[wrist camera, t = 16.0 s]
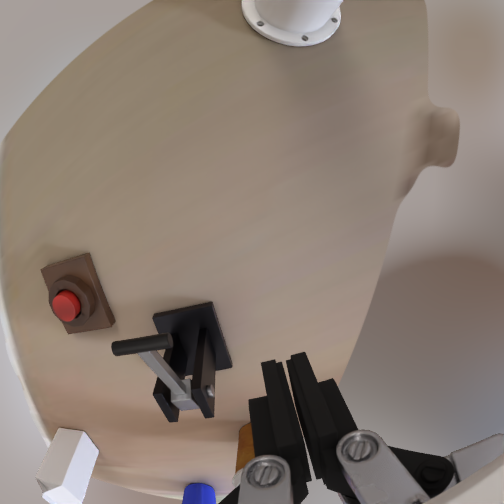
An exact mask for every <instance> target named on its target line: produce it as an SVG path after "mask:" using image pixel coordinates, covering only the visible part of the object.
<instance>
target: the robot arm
mask: <svg viewBox="0 0 504 504" xmlns="http://www.w3.org/2000/svg"><path fill="white" fill-rule="evenodd" d="M342 2H343V0H242V2H241V5H242V12H243V15H244V17H245V19H246V20H247V22H248V23H249V24H250V26H251V27H252V28H253V29H254V30H256V31H257V32H258V33H259V34H261V35H263V36H264V37H266V38H268V39H270V40H273V41H275V42H278V43H281V44H285V45H291V46H310V45H315V44H318V43H321V42H323V41H325V40H326V39H328V38H329V37H330V36H331V35H332V34H333V33H334V32H335V31H336V29H337V28H338V26H339V24H340V19H341V13H340V8H339V5H340V4H341V3H342ZM261 26H262V27H261ZM302 39H303V40H305V41H303V40H302ZM286 363H287V368H288V373H289V377H290V382H291V387H292V392H293V397H294V401H295V406H296V410H297V414H298V417H297V414H296V410H295V407H294V403H293V400H292V396H291V393H290V389H289V386H288V382H287V379H286V375H285V372H284V368H283V365H282V362H278V363H276V361H275V360H270V361H266V362H262V363H261V366H262V371H263V377H264V382H265V388H266V393H267V396H264V397H259V398H254V399H249V411H250V420H251V429H252V438H253V446H254V455H255V458H254V459H252V460H250V461H249V462H248V463H247V464H246V465H245V467H244V468H243V470H242V474H241V482H240V484H239V485H238V486H237V487H236V488H235V489H234V490H233V491H232V492H231V493H230V494H229V495H227V496H226V497H225V498H224V499H223V500H222V501H221V502H220V503H219V504H301V502H302V501H303V500H304V499H305V498H306V496H307V495H308V488H307V485H306V482H309V481H312V479H311V474H310V469H309V464H308V459H307V453H306V448H305V443H304V440H303V435H304V438H305V442H306V445H307V449H308V452H309V455H310V459H311V462H312V466H313V470H314V473H315V476H316V479H321V478H322V479H323V482H324V484H326V486H327V489H330V490H332V491H335V492H337V493H338V495H339V497H340V499H341V501H342V502H343V504H504V434H495V435H492V436H491V437H488V438H486V439H484V440H481V441H479V442H477V443H474V444H472V445H469V446H467V447H464V448H462V449H459V450H456V451H454V452H451V454H450V455H448V456H445V457H441V456H436V455H430V454H424V453H419V452H413V451H408V450H404V449H399V448H394V447H390V446H387V444H386V443H385V442H384V441H383V439H382V438H381V437H380V436H379V435H378V434H377V433H375V432H372V431H370V430H358V428H357V426H356V424H355V422H354V420H353V418H352V415H351V413H350V411H349V409H348V407H347V405H346V403H345V401H344V399H343V397H342V395H341V393H340V391H339V389H338V386H337V384H336V382H335V381H334V379H333V378H332V379H329V380H326V381H322V382H319V383H318V382H317V379H316V377H315V375H314V372H313V370H312V367H311V365H310V363H309V360H308V358H307V355H306V353H305V352H302V353H298V354H294V355H291V359H290V360H286ZM298 418H299V421H300V424H301V428H302V431H303V435H302V431H301V428H300V424H299V421H298Z"/></svg>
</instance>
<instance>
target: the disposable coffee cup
mask: <svg viewBox="0 0 504 504" xmlns="http://www.w3.org/2000/svg"><path fill="white" fill-rule="evenodd" d="M254 458H255V455H254V446H253V438H252V429H251V423H249V424H247V425H245V426H243V427H242V428H241V429H240V432H239V442H238V452H237V462H236V472H235V475H234V477H233V480H232V483H233V485H234V486H235V487H237V486H238V485H239V484H240V482H241V474H242V470H243V468H244V467H245V465H246V464H247V463H248V462H249V461H250V460H252V459H254Z"/></svg>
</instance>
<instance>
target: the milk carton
mask: <svg viewBox="0 0 504 504" xmlns="http://www.w3.org/2000/svg"><path fill="white" fill-rule="evenodd" d="M98 453H99V450H98V449H97V448H96V446H95V445H94V444H93V442H92V441H91V440H90V438H89V437H88V436H87V434H86V433H85V432H84V431H79V430H72V429H65V428H59V429H58V430H57V432H56V434H55V436H54V439H53V441H52V443H51V445H50V447H49V449H48V451H47V453H46V455H45V457H44V459H43V462H42V464H41V466H40V468H39V470H38V473H37V475H36V479H37V481H38V483H39V485H40V487H41V489H42V491H43V492H42V493H43V495H42V497H43V498H44V499H45V500H46V501H47V502H49V503H50V504H82V503H83V500H84V496H85V493H86V490H87V486H88V483H89V480H90V477H91V474H92V471H93V468H94V465H95V462H96V459H97V456H98Z"/></svg>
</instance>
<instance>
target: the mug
mask: <svg viewBox="0 0 504 504" xmlns="http://www.w3.org/2000/svg"><path fill="white" fill-rule="evenodd" d="M182 504H216V498H215V492H214V489H213V488H212V487H210V486H208V485H205V484H202V483H195V484H190V485H188V486H186V488H185V490H184V495H183V501H182Z"/></svg>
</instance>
